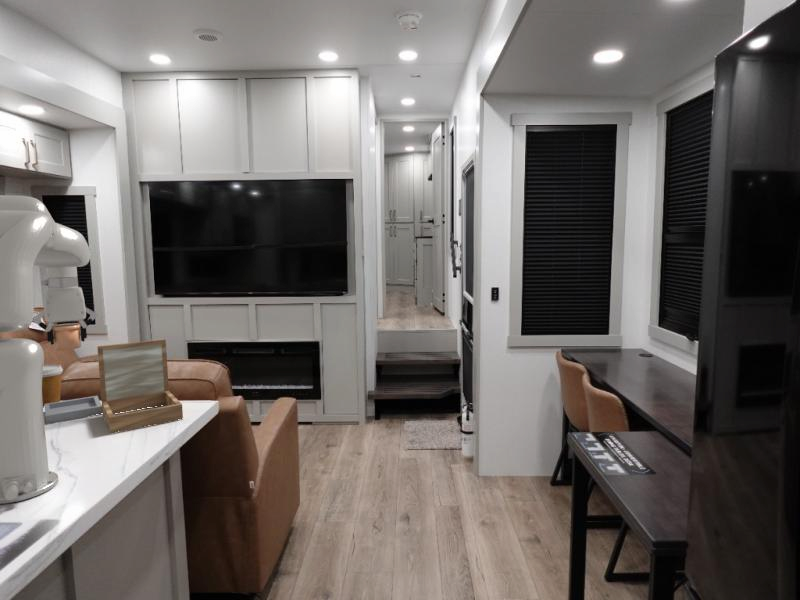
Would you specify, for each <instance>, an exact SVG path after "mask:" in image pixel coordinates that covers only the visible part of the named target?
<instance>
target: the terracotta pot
mask: <svg viewBox="0 0 800 600" xmlns="http://www.w3.org/2000/svg"><path fill="white" fill-rule="evenodd" d="M80 328H81V324H80V323H79V322H72V323H71V322H68V323H60V324H59V323H58V324H54V325H53V326H52V331H53V338H54V346H55V350H56V351H71V350H76V349H80V348H81V347H82V341H81V333H80Z"/></svg>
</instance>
